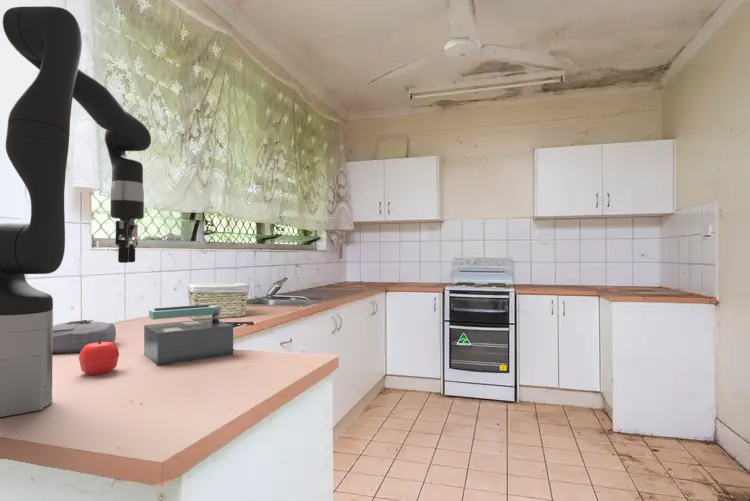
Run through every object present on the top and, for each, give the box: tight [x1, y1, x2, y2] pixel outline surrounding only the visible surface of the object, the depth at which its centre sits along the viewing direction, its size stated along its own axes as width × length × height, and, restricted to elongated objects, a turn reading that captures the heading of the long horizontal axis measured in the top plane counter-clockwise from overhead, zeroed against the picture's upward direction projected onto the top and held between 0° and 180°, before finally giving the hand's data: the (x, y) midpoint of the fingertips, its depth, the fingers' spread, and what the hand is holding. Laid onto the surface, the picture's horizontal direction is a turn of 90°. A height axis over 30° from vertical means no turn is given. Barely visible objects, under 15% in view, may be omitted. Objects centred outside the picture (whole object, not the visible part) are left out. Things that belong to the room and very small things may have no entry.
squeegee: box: [223, 321, 254, 328], centre depth 162 cm, size 14×15×3 cm
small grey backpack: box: [52, 319, 117, 354], centre depth 126 cm, size 15×8×20 cm
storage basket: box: [187, 282, 250, 321], centre depth 190 cm, size 24×16×15 cm
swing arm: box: [148, 304, 221, 320], centre depth 121 cm, size 18×5×3 cm, turn 129°
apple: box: [78, 338, 120, 376], centre depth 101 cm, size 8×8×8 cm
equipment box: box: [143, 313, 234, 367], centre depth 119 cm, size 16×19×10 cm
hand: (127, 262), depth 112 cm, fingers open, 8 cm apart
